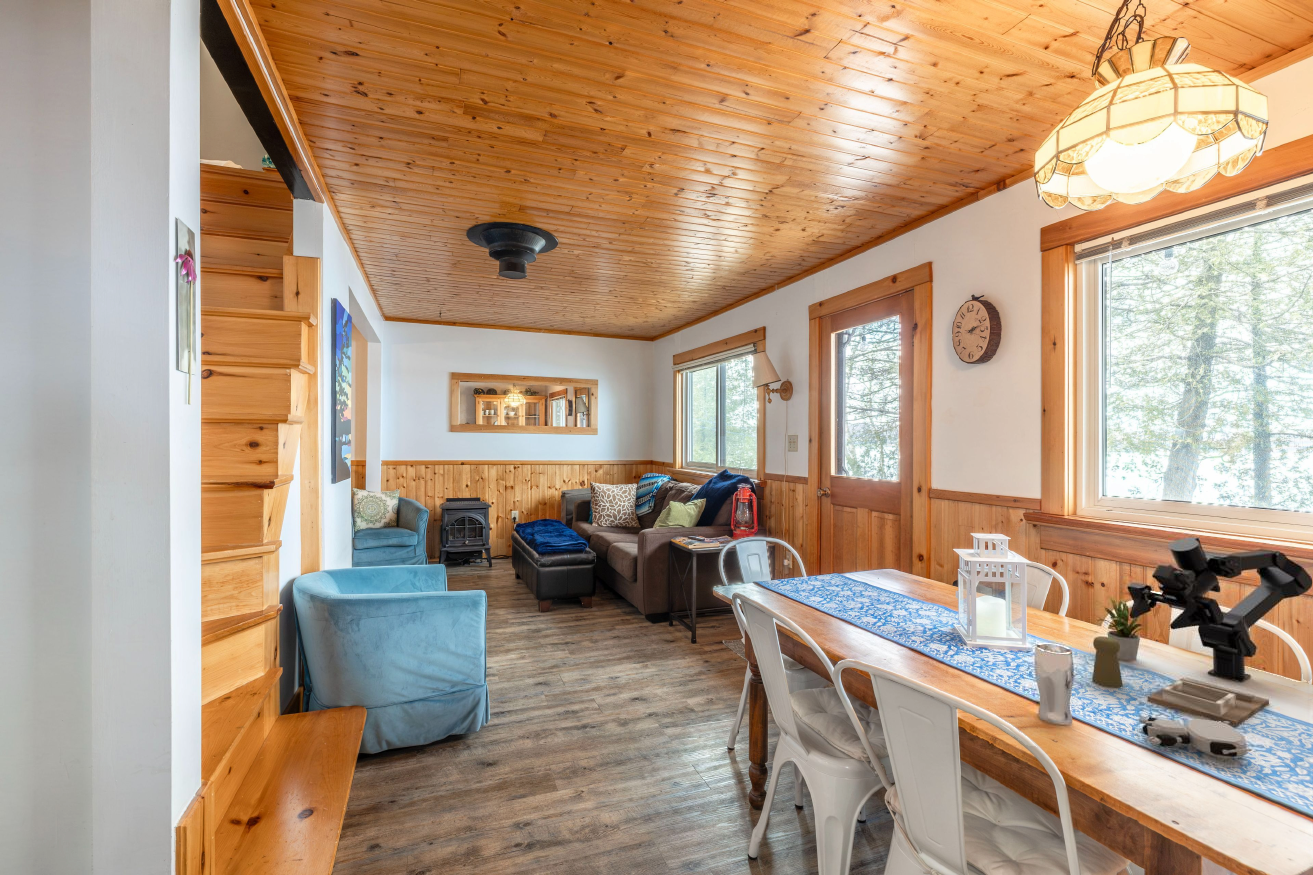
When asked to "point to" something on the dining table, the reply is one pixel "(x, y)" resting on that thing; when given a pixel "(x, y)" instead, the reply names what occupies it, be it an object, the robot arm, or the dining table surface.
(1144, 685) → the dining table surface
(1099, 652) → the cork
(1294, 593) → the robot arm
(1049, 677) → the beer glass
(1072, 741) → the dining table surface
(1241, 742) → the robot toy
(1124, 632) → the house plant
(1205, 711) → the assembly jig
